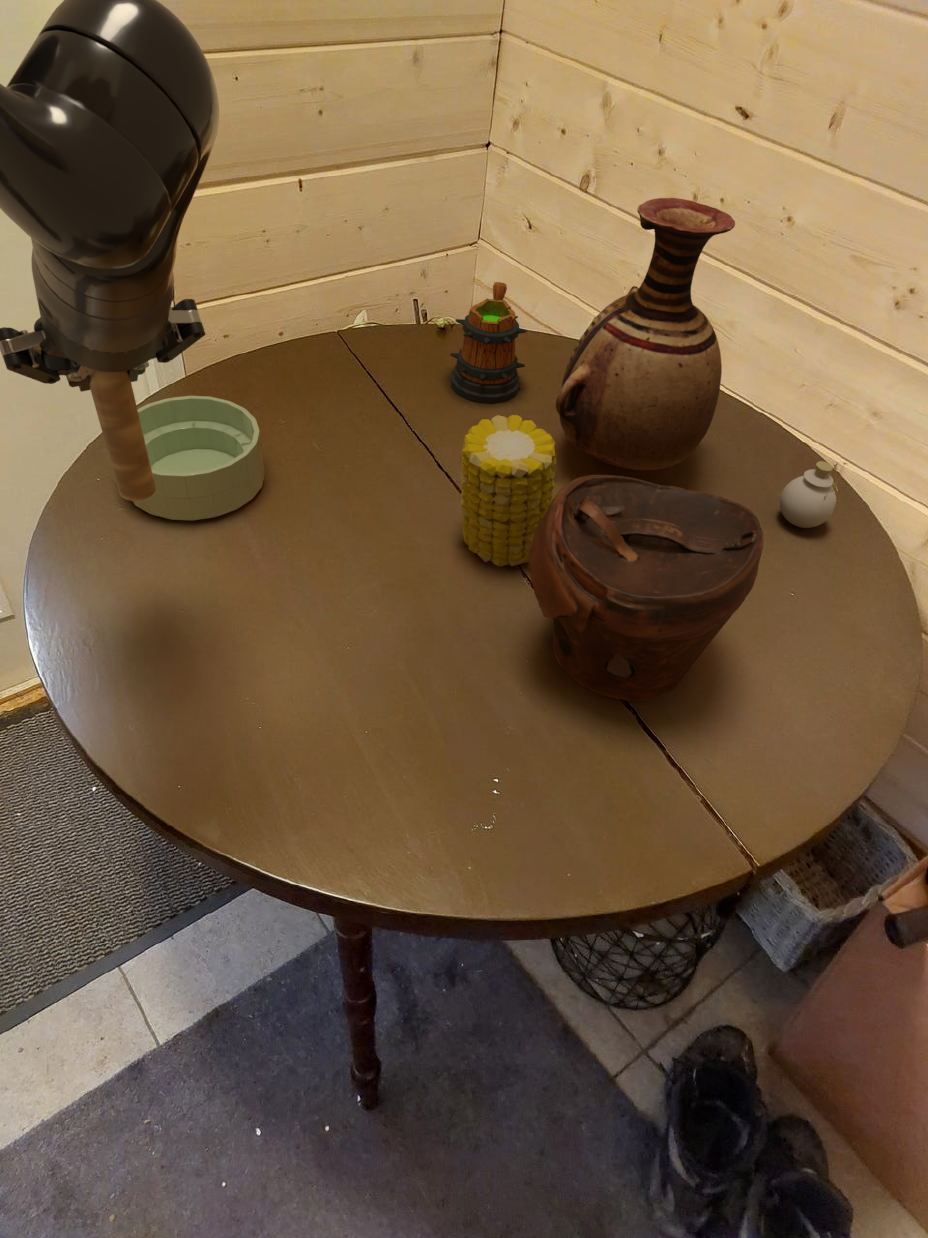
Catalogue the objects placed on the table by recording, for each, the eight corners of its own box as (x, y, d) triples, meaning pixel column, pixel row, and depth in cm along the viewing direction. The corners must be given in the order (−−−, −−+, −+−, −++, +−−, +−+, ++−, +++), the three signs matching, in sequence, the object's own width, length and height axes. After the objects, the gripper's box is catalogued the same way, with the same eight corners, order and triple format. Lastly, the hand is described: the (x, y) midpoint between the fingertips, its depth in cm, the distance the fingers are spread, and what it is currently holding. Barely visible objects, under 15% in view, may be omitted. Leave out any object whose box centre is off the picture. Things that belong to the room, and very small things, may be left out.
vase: (550, 505, 97) (601, 244, 75) (528, 418, 109) (566, 173, 87) (725, 505, 99) (822, 254, 78) (683, 421, 112) (757, 184, 90)
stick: (120, 503, 70) (77, 349, 60) (118, 482, 72) (76, 329, 61) (157, 498, 70) (121, 345, 60) (154, 477, 72) (118, 326, 62)
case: (488, 606, 84) (508, 460, 71) (662, 575, 90) (710, 435, 77) (553, 746, 73) (592, 603, 60) (748, 702, 78) (822, 562, 65)
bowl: (132, 534, 88) (118, 485, 83) (121, 452, 97) (108, 404, 93) (276, 512, 92) (270, 463, 87) (252, 436, 102) (246, 388, 97)
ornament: (814, 506, 100) (848, 437, 93) (834, 547, 95) (872, 477, 88) (766, 504, 100) (796, 434, 93) (784, 545, 95) (817, 474, 88)
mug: (517, 409, 110) (528, 327, 102) (442, 397, 111) (447, 315, 103) (527, 362, 119) (539, 283, 111) (458, 351, 120) (464, 272, 112)
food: (557, 558, 93) (485, 593, 88) (498, 484, 97) (426, 515, 93) (599, 467, 80) (517, 504, 76) (528, 387, 84) (447, 418, 80)
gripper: (201, 211, 52) (178, 312, 67) (-48, 240, 46) (-10, 342, 62) (239, 330, 52) (208, 402, 68) (-2, 372, 47) (25, 440, 63)
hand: (104, 373), depth 65 cm, fingers closed on stick, 3 cm apart
